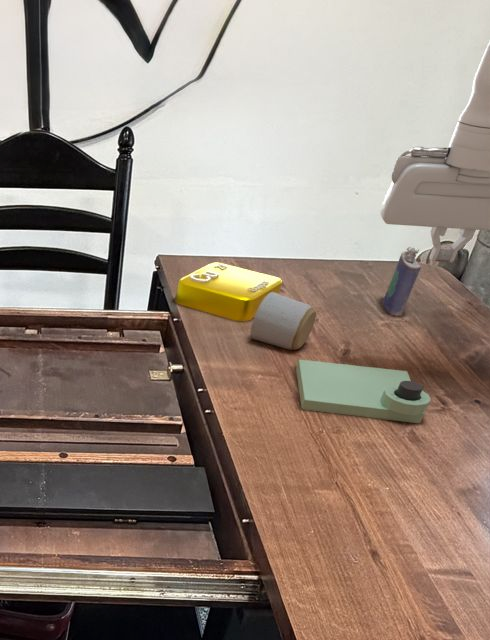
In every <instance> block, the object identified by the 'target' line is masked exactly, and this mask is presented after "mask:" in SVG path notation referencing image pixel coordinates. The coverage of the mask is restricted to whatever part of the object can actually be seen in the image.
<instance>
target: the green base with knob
mask: <svg viewBox="0 0 490 640" xmlns="http://www.w3.org/2000/svg"><path fill="white" fill-rule="evenodd" d="M295 373H296V379H297V387H298V393H299V400H300V407H301V410H305V411H314V412H322V413H330V414H338V415H345V416H355V417H364V418H371V419H379V420H388V421H395V422H406V423H412V424H421V422H422V420H423V418H424V415H425V412H426V411H427V410H428V408H429V405H430V403H431V401H432V399H431V396H430V395H429V393H427V392H425V391H424V390H422V392H421V394H420V396H419V399H418V400H416V401H409V400H404V399H401V398H399V397H397V396H396V395H395V394H396V391H397V389H398V387H399V384H400V382H402V381H412V380H411V378H410V375H409V373H408V371H407V370H400V369H389V368H380V367H373V366H372V367H371V366H362V365H354V364H346V363H345V364H344V363H335V362H325V361H317V360H309V359H298V360H297V364H296V366H295Z"/></svg>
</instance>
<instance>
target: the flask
mask: <svg viewBox="0 0 490 640" xmlns="http://www.w3.org/2000/svg"><path fill="white" fill-rule="evenodd" d="M419 251H420V249H416V248H415V247H411V246H408V247H407V248H406V250H404V251H403V252H401V254H400V256H399V258H398V262H397V265H396V267H395V269H394V272H393V274H392V277H391V280H390V282H389V285H388V288H387V290H386V292H385V294H384V298H383V299H382V306H383V309H384V311H385V312H386V313H387V314H388V315H389V316H391V317H402V315H403V314H404V311H405V309H406V306H407V303H408V300H409V298H410V295H411V293H412V290H413V288H414V285H415V283H416V280H417V278H418V275H419V273H420V271H421V269H422V266H421V265H420V264H419V263H418V261H417V260H416V258H417V254H418V253H419Z"/></svg>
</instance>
